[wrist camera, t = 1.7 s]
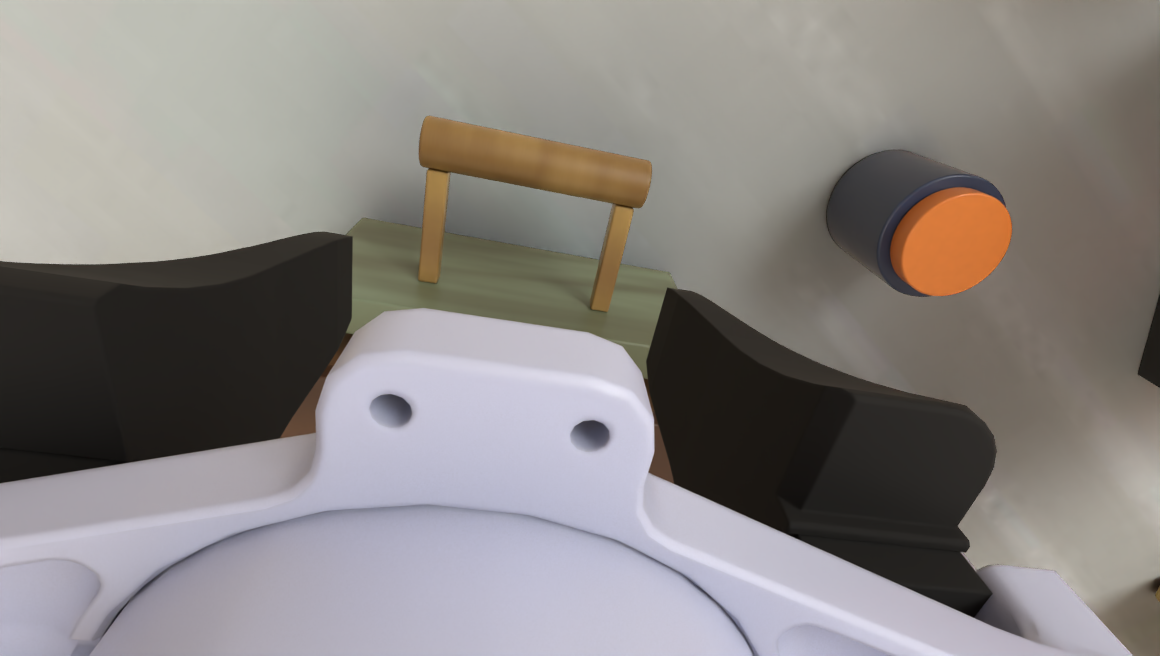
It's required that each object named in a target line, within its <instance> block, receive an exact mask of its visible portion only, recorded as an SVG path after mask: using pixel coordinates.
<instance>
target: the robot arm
mask: <svg viewBox="0 0 1160 656" xmlns="http://www.w3.org/2000/svg"><path fill="white" fill-rule="evenodd" d="M352 259H353V236H347V235H341V234H334V233H328V232H313V233H307V234H302V235H297V236H293V237H289V238H285V239H280V240H276V241H272V242H268V243H264V244H260V245H256V246H251V247H246V248H242V249H237V250H232V251H227V252H222V253H218V254H212V255H206V256H200V257H193V258H186V259H177V260H168V261H158V262H142V263H122V264H98V265H73V264H34V263H15V262H2V261H0V656H1133V655H1132V654H1131V653H1130V652H1129V651H1128V650H1127V648H1126V647H1125V646H1124V645H1123V644H1122V643H1121V642H1120V641H1119V640H1118V639H1117V638H1116V637H1115V635H1114V634H1113V633H1112V632H1111V631H1110V630H1109V629H1108V628H1107V627H1106V626H1105V625H1104V623H1103V622H1102V621H1101V620H1100V619H1099V618H1098V617H1097V616H1096V615H1095V614H1094V613H1093V612H1092V610H1091V609H1090V608H1089V607H1088V606H1087V605H1086V604H1085V603H1084V602H1083V601H1082V600H1081V599H1080V597H1079V596H1078V595H1077V594H1076V593H1075V592H1074V591H1073V590H1072V589H1071V588H1070V587H1069V586H1068V584H1067V583H1066V582H1065V581H1064V580H1063V579H1062V578H1061V577H1060V576H1059V575H1058V574H1057V572H1056V571H1053V570H1046V569H1037V568H1027V567H1018V566H1008V565H999V564H997V565H987V566H985V567H983V568H980V569H978V570H976V569H975V567H974V566H973V565H972V563H971V562H970V561H969V559H968V558H967V557H966V556H965V554H964V553H963V552H966V551H967V550H968V549H969V547H970V544H969V540H968V539H967V537H966V536H965V535H964V534H963V533H962V531H961V530H960V529H959V528H958V524H959V523H960V521H961V520H962V518H963V517H964V515H965V514H966V513H967V511H968V510H969V508H970V507H971V505H972V504H973V502H974V501H975V499H976V498H977V496H978V495H979V493H980V492H981V490H982V489H983V488H984V486H985V484H986V482H987V480H988V478H989V476H990V474H991V472H992V470H993V468H994V463H995V458H996V452H997V450H996V445H995V439H994V435H993V434H992V432H991V431H990V430H989V428H988V427H987V425H986V424H985V422H983V421H982V420H981V419H980V418H979V417H978V416H977V415H976V414H975V413H974V412H973V411H971V410H970V409H969V408H968V407H967V406H965V405H962V404H957V403H953V402H948V401H943V400H939V399H934V398H930V397H925V396H921V395H916V394H911V393H907V392H903V391H900V390H896V389H893V388H889V387H886V386H882V385H879V384H875V383H872V382H869V381H866V380H863V379H860V378H857V377H854V376H851V375H848V374H846V373H843V372H840V371H838V370H835V369H832V368H830V367H827V366H825V365H822V364H820V363H818V362H815V361H813V360H811V359H809V358H806V357H804V356H802V355H800V354H798V353H796V352H794V351H792V350H790V349H788V348H786V347H784V346H782V345H780V344H778V343H777V342H775V341H773V340H771V339H770V338H768V337H766V336H765V335H763V334H761V333H759V332H758V331H756V330H755V329H753V328H751V327H750V326H748V325H747V324H745V323H744V322H742V321H740V320H739V319H737V318H736V317H734V316H733V315H731V314H730V313H728V312H727V311H725V310H724V309H722V308H721V307H719V306H718V305H716V304H715V303H713V302H712V301H710V300H708V299H707V298H705V297H703V296H702V295H700V294H697V293H695V292H692V291H686V290H680V289H674V288H668V287H667V290H666V293H665V297H664V300H663V304H662V307H661V311H660V314H659V318H658V321H657V325H656V328H655V332H654V335H653V339H652V342H651V346H650V349H649V353H648V356H647V360H646V365H647V376H648V385H649V392H650V397H651V401H652V404H653V408H654V411H655V415H656V419H657V422H658V425H659V429H660V432H661V436H662V439H663V443H664V446H665V449H666V453H667V456H668V460H669V463H670V467H671V472H672V476H673V481H674V484H673V483H671V482H668V481H666V480H664V479H662V478H659V477H657V476H655V475H653V474H651V473H648V471H649V468H650V465H651V462H652V459H653V455H654V452H655V449H654V417H653V413H652V410H651V406H650V402H649V398H648V394H647V391H646V387H645V383H644V379H643V375H642V372H641V371H640V369H639V368H638V367H637V365H636V364H635V363H634V361H633V360H632V359H631V357H630V356H629V355H628V353H627V352H626V351H625V349H624V348H623V347H622V346H620V345H618V344H615V343H613V342H611V341H608V340H606V339H603V338H601V337H598V336H596V335H593V334H591V333H589V332H582V331H575V330H568V329H562V328H555V327H548V326H542V325H535V324H528V323H521V322H515V321H508V320H501V319H495V318H488V317H481V316H474V315H468V314H461V313H454V312H448V311H441V310H434V309H427V308H419V309H407V310H395V311H384V312H383V313H381V314H380V315H379V316H377V317H376V318H374V319H373V320H371V321H370V322H368V323H367V324H366V325H364V326H363V327H361V328H360V329H358V330H357V331H355V333H354V334H353V336H352V338H351V339H350V341H349V342H348V344H347V345H346V347H345V349H344V350H343V352H342V353H341V355H340V356H339V358H338V360H337V361H336V363H335V364H334V366H333V367H332V369H331V371H330V372H329V374H328V375H327V377H326V380H325V383H324V386H323V389H322V392H321V395H320V398H319V401H318V404H317V407H316V410H315V417H316V433H311V434H305V435H299V436H293V437H286V438H281V436H282V434H283V432H284V430H285V429H286V427H287V425H288V424H289V422H290V420H291V419H292V417H293V416H294V414H295V413H296V411H297V410H298V408H299V407H300V406H301V404H302V403H303V401H304V400H305V398H306V397H307V395H308V394H309V392H310V391H311V389H312V388H313V387H314V385H315V384H316V382H317V381H318V379H319V378H320V376H321V375H322V373H323V372H324V370H325V369H326V367H327V366H328V364H329V363H330V361H331V360H332V358H333V357H334V355H335V354H336V352H337V351H338V349H339V346H340V344H341V342H342V340H343V338H344V336H345V333H346V331H347V329H348V326H349V324H350V322H351V319H352Z"/></svg>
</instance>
